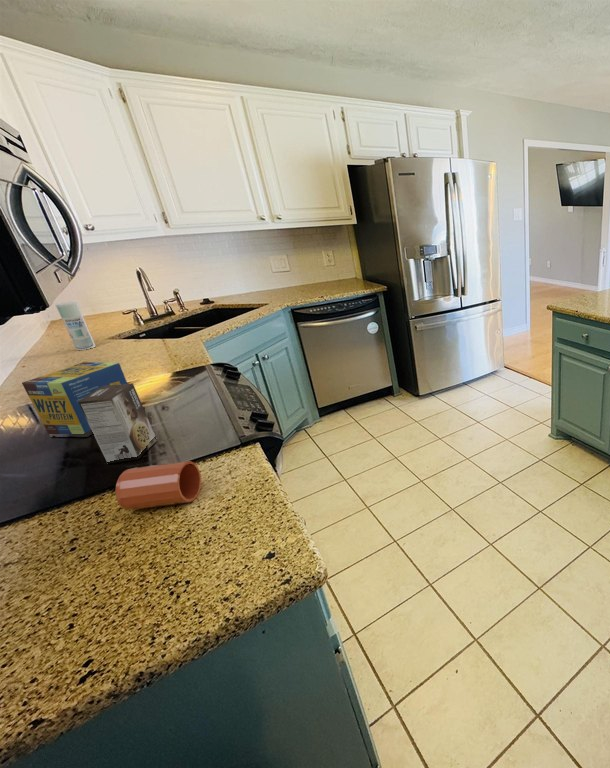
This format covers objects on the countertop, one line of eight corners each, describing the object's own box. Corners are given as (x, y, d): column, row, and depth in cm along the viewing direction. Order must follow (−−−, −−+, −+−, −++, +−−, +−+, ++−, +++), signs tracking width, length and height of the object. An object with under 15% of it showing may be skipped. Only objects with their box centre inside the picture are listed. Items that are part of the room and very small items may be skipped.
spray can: (75, 351, 174) (53, 305, 166) (77, 348, 179) (56, 303, 171) (95, 348, 178) (76, 303, 170) (97, 345, 183) (77, 301, 175)
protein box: (48, 438, 105) (19, 382, 99) (107, 411, 119) (84, 361, 113) (86, 438, 104) (59, 383, 98) (141, 411, 118) (120, 361, 112)
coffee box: (127, 445, 100) (101, 385, 94) (158, 441, 102) (134, 382, 96) (106, 465, 92) (75, 401, 86) (140, 460, 94) (112, 397, 88)
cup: (109, 484, 73) (172, 476, 75) (135, 460, 80) (193, 453, 82) (125, 519, 76) (186, 510, 78) (150, 493, 83) (205, 485, 85)
